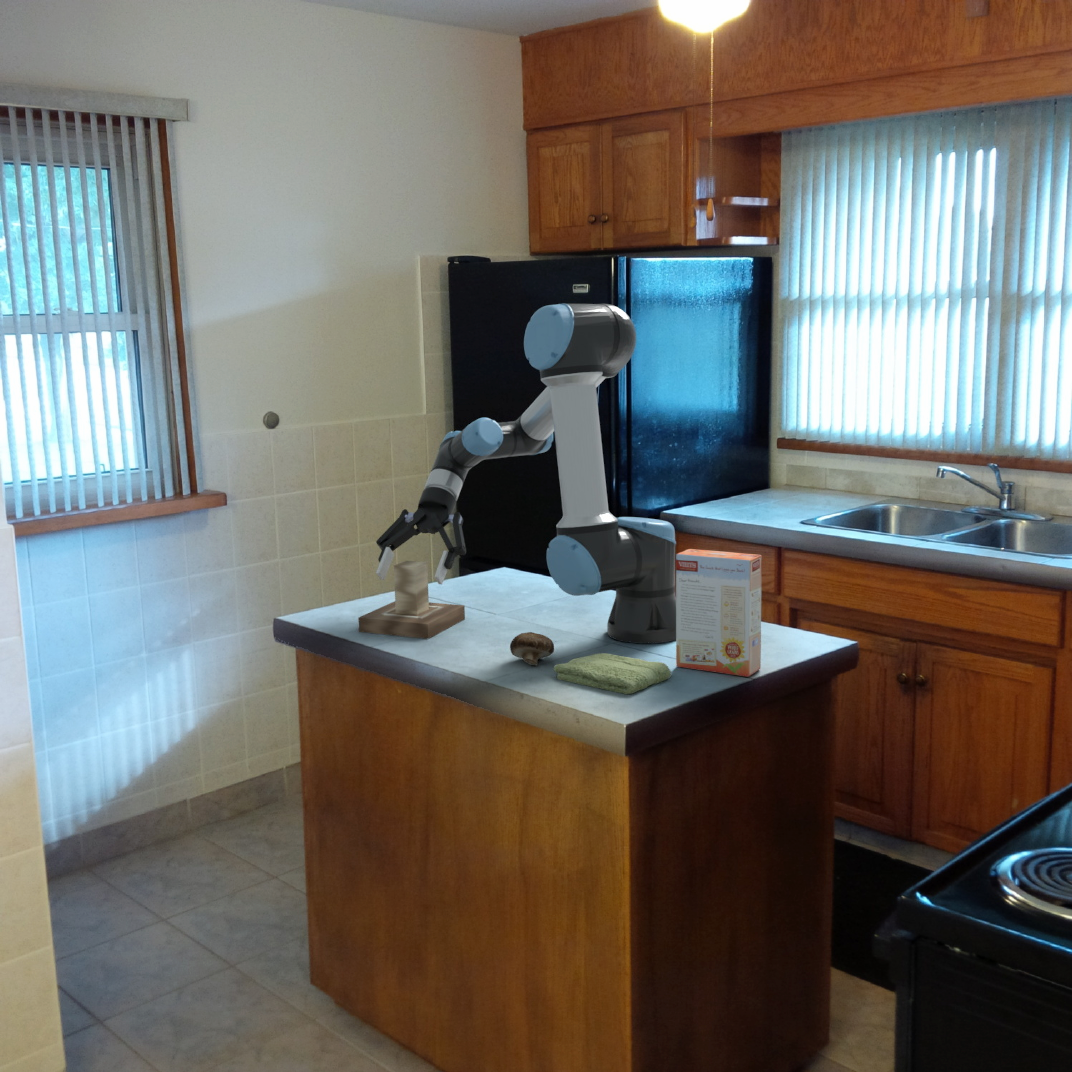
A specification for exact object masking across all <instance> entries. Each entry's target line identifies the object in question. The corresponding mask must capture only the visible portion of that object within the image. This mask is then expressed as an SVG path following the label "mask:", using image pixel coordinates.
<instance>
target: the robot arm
mask: <svg viewBox="0 0 1072 1072" xmlns="http://www.w3.org/2000/svg"><path fill="white" fill-rule="evenodd" d="M636 344H637V333H636V327H635V325H634V323H633V321H632V320H631V318H630V316H629V315H628V314H627V312H625V311H624V310H623V309H621V308H619V307H618V306H615V305H613V304H609V303H594V304H593V303H558V304H549V305H545V306H542V307H540V308H538V309H537V310H536V311H534V313H533V315H532V316H531V317H530V320H529V321H528V323H527V325H526V328H525V333H524V338H523V348H524V355H525V357H526V359H527V360H528V361H529V364H530V365H531V367H533V368H534V369H536V370H538V371H539V374H540V381H541V382H542V383H543V384H544V385H545V386H546V387H545V388H544V390H543V391H542V392H541V393H540V394H539V395H538V396H537V397H536V398H535V400H534V401H533V402H532V403H531V404H530V405H529V407H527V409H525V411H524V412H523V413H522V414H521V415H520V416H519V417H518V418H517V419H515V420H514V421H513V420H512V421H501V422H497V421H496V420H495V419H491V418H489V417H480V418H478V419H475V420H474V421H472V422H471V423H470V424H468V425H467V426H465V427H464V428H463V429H462V430H455V431H449V432H447V433H446V435H445V436H444V438H443V440H442V442H441V443H440V444H439V447H438V452H437V453H436V457H435V459H434V462H433V464H432V468H431V469H430V472H429V475H428V478H427V480H426V482H425V485H424V489H423V490H422V492H421V494H420V495H421V496H420V498H419V500H418V505H417V509H416V510H415V512H409V510H408V509H402V510H401V512H400V515H399V516H398V517H397V519H396V520H395V521H394V522H393V523H392V524H391V525H390V526H389V527H388V528H387V529H386V530H385V531H384V533H382V535H380V537H378V538H377V540H376V541H375V542H376V544H377V546H378V547H379V549H380V550H381V551H380V553H379V556H378V562H379V564H378V567H377V569H376V571H375V574H376V576H378V577H379V579H380V580H381V581H385V579H386V576H387V574H388V572H389V569H390V566H391V564H392V561H393V559H394V557H395V553H394V551H395V550H397V549H398V548H399V547H401V546H402V545H404V544H405V543H406V542H407V541H409V540H410V539H412V538H413V537H415V536H418V535H420V534H432V535H435V534H437V533H438V534H439V535H440V537H441V539H442V541H443V543H444V544H445V547H446V548H447V550H443V552H442V555H441V558H440V560H439V563H438V566H437V569H436V571H435V574H434V579H435V580H436V582H437V584H438V585H441V586H442V585H443V583H444V581H445V578H446V575H447V572H448V570H451V569H452V568H453V566H454V563H455V561H456V557H458V556H459V555H460V556H465V555H466V554H467V548H466V543H465V536H464V531H463V523H464V518H463V517H462V515H461V513H460V512H459V511H455V512H454V510H455V507H456V505H457V501H458V499H459V496H460V493H461V490H462V488H463V486H464V482H465V479H466V477H467V475H468V473H469V471H470V470H471V469H472V468H474V467H475V466H476V465H478V464H479V463H480V462H482V461H484V460H493V459H501V458H509V457H519V456H535V455H538V454H542V453H545V452H548V451H549V450H550V448H551V447H552V443H553V442H555V450H556V459H557V467H558V468H557V469H558V479H559V487H560V497H561V498H560V499H561V509H562V516H561V517H562V518H561V519H560V520H559V521H558V522H557V524H556V526H555V527H556V536H555V537H554V538H553V539H551V540H550V542H549V543H548V547H547V549H546V564H547V568H548V570H549V574H550V576H551V578H552V579H553V582H555V584H556V585H557V586H558V588H559V589H561V591H563V592H564V593H566V594H568V595H570V596H573V597H574V596H575V597H579V596H586V595H587V596H594V595H596V594H598V593H602V592H607V591H613V590H615V598H614V600H613V604H612V607H611V610H610V614H609V615H608V616H609V617H608V620H607V626H606V627H607V629H606V630H607V632H606V633H607V636H609V637H610V638H611V639H614V640H616V641H621V642H625V643H633V644H659V643H667V642H673V641H675V640H676V554H677V553H676V551H677V550H676V549H677V548H676V545H677V541H676V533H675V531H676V530H675V527H674V525H673V524H672V523H671V522H669V521H667V520H662V519H655V518H648V517H635V516H619V517H616V516H614V515H613V514H612V513H611V512H610V510H609V503H608V493H607V483H606V473H605V472H606V471H605V464H604V454H603V452H604V451H603V443H602V433H601V425H600V424H601V422H600V415H599V405H598V394H597V388H598V386H600V384H602V382H604V380H605V379H609V378H613V377H615V376H617V374H619V372H621V371H622V369H623V368H624V367H625V366H627V363H629V361H630V360H631V358H632V356H633V354H634V352H635V349H636ZM554 440H555V441H554ZM453 512H454V513H453ZM450 523H451V524H452V528H453V531H454V532H453V533H454V534H453V535H454V539H455V544H456V546H454V545H453V543H452V541H451V539H450V537H449V535H448V533H447V531H446V529H445V527H446V526H447V525H449V524H450ZM415 526H416V528H415Z"/></svg>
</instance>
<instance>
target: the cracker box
mask: <svg viewBox="0 0 1072 1072" xmlns="http://www.w3.org/2000/svg"><path fill="white" fill-rule="evenodd" d="M675 597H676V641H675V643H676V645H675V647H676V649H675V650H676V651H675V655H676V656H675V659H676V662H675V663H676V664H675V665H676V667H679V668H684V669H690V670H691V669H693V670H698V671H706V672H713V673H718V674H719V673H720V674H725V675H726V674H727V675H733V676H737V677H738V676H740V677H746V678H748V677H751V675H753V674H755V673H756V672H757V671H759V670H761V660H762V659H761V657H762V656H761V655H762V654H761V653H762V652H761V650H762V649H761V648H762V646H761V645H762V643H761V642H762V554H755V553H754V554H753V553H742V552H732V551H718V550H709V549H708V550H707V549H694V548H688V549H687V548H686V549H685V550H683V551H680V552H678V553H675Z"/></svg>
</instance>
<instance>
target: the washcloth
mask: <svg viewBox="0 0 1072 1072" xmlns="http://www.w3.org/2000/svg"><path fill="white" fill-rule="evenodd" d="M553 672H554V673H556V674H557V675H556V676H557V677H556V678H557V680H560V681H564V682H568V683H573V684H577V685H583V686H586V687H591V688H597V689H601V690H604V691H610V692H615V693H621V694H624V695H632V694H635V693H637V692H638V691H641V690H645V689H647V688H648V687H649V686H652V685H657V684H659V683H661V682H664V681H667V680H669V679H670V677H671V676H672V671H671V669H670V667H669V666H668V665H667V664H666V663H664V662H661V661H648V660H644V659H641V658H635V657H634V658H633V657H630V656H629V657H628V656H624V655H623V656H621V655H618V654H612V653H607V652H606V653H605V652H602V653H593V654H590V655H586V656H581V657H578V658H577V657H576V658H573V659H570V661H567V662H566V663H559V664H555V665H554V666H553Z"/></svg>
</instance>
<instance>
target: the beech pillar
mask: <svg viewBox="0 0 1072 1072" xmlns="http://www.w3.org/2000/svg"><path fill="white" fill-rule="evenodd" d="M428 573H429V572H428V562H427V561H417V560H415V561H412V560H404V561H402V562H399V563H396V564H394V565H393V576H394V577H393V578H394V579H393V581H394V599H395V600H394V601H395V607H396V613H400V614H410V615H418V614H420V613H423V612H425V611H427V610H429V602H430V601H429V578H428V577H429V576H428Z"/></svg>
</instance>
